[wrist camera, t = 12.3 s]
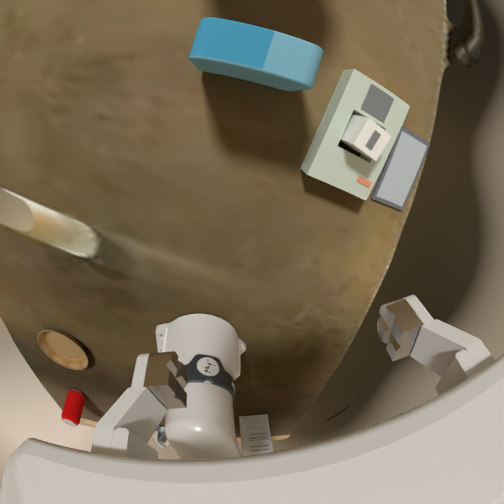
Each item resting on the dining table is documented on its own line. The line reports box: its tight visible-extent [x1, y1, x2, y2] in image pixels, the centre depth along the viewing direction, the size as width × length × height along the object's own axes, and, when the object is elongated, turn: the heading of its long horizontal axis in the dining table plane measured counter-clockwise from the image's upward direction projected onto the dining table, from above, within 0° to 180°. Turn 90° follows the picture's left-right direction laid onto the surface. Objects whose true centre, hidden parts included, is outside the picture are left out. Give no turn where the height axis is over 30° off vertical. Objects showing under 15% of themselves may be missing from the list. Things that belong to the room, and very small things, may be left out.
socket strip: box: [301, 69, 410, 201], centre depth 33 cm, size 16×10×4 cm, turn 159°
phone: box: [371, 126, 430, 211], centre depth 38 cm, size 13×7×1 cm, turn 164°
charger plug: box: [340, 114, 391, 161], centre depth 32 cm, size 4×4×7 cm
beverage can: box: [62, 389, 85, 426], centre depth 60 cm, size 6×6×12 cm
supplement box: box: [239, 414, 273, 456], centre depth 70 cm, size 10×9×17 cm
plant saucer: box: [37, 329, 88, 370], centre depth 52 cm, size 15×15×3 cm
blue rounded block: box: [189, 17, 323, 91], centre depth 24 cm, size 12×4×12 cm, turn 75°
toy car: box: [154, 425, 170, 449], centre depth 76 cm, size 18×10×12 cm
